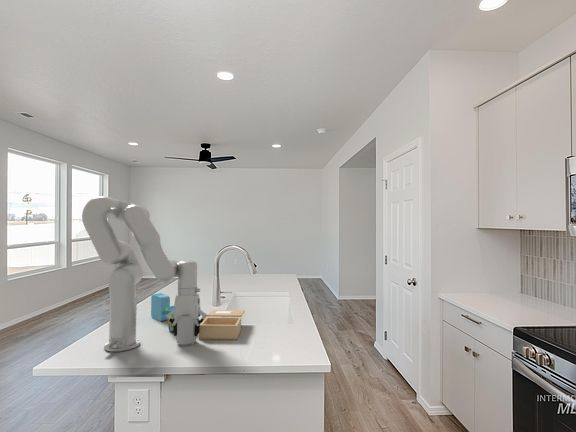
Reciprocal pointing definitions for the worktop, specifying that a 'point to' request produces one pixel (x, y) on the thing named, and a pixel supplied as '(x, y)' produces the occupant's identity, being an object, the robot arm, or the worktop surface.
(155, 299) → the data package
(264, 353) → the worktop surface
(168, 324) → the snack cup
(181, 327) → the can
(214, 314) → the lid
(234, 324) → the box
